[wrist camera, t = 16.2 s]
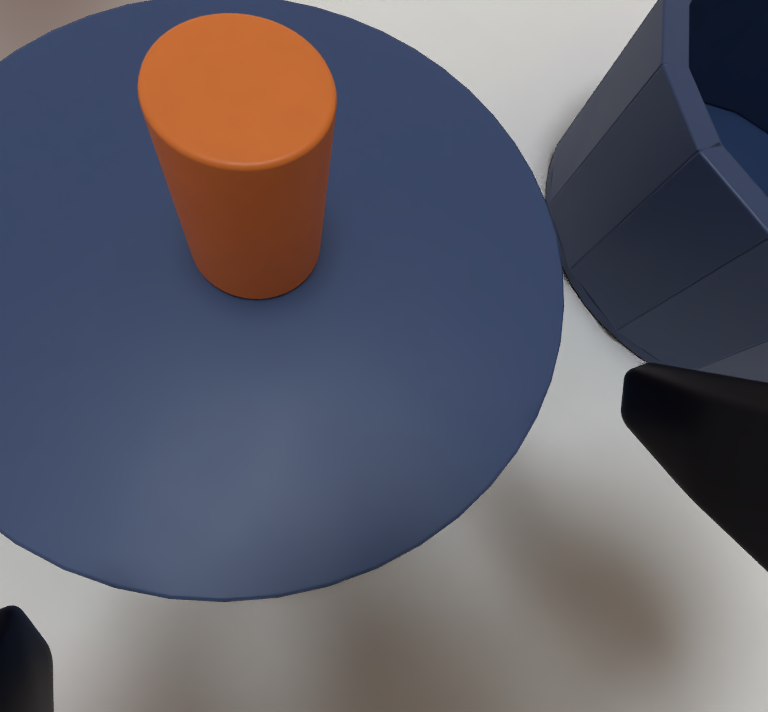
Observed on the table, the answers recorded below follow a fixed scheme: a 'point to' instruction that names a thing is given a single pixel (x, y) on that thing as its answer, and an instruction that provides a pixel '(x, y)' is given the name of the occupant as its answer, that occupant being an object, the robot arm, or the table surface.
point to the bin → (675, 190)
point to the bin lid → (257, 298)
